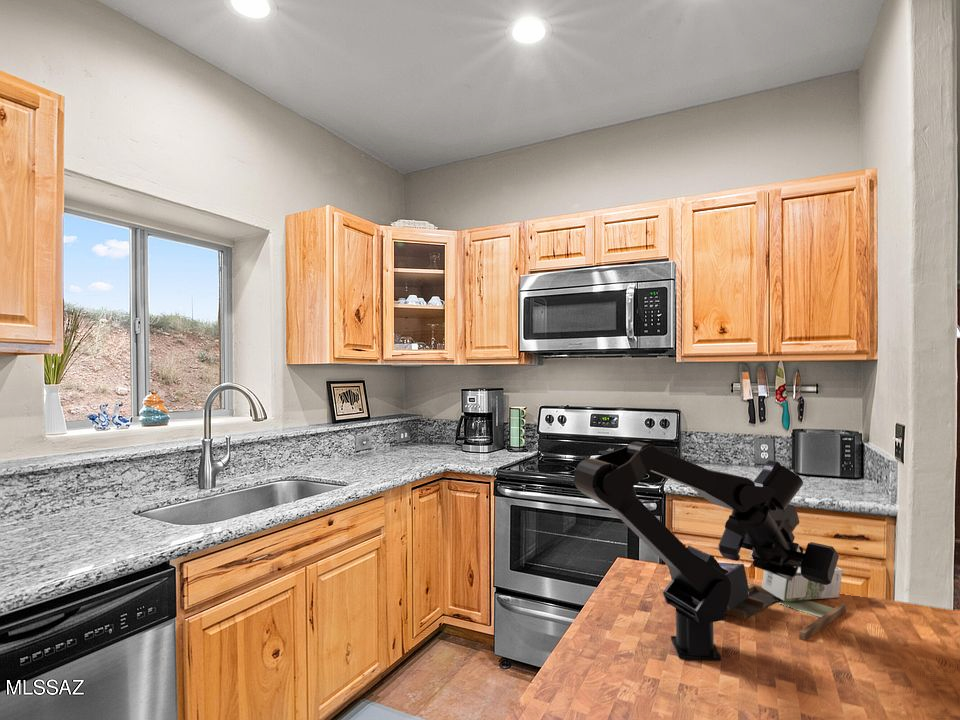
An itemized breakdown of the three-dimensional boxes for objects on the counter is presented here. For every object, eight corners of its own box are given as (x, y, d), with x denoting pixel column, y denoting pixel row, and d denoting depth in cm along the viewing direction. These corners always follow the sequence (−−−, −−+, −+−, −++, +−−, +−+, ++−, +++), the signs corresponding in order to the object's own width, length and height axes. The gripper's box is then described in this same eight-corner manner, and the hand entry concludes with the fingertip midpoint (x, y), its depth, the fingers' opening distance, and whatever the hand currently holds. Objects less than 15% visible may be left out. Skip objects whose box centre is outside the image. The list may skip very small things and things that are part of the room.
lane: (804, 640, 91) (804, 633, 92) (714, 608, 104) (714, 602, 104) (846, 611, 102) (846, 604, 102) (760, 585, 115) (759, 579, 115)
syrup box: (760, 587, 110) (814, 583, 114) (785, 602, 104) (840, 597, 109) (763, 560, 109) (817, 557, 114) (788, 573, 104) (844, 569, 108)
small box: (693, 558, 114) (745, 562, 106) (699, 591, 113) (751, 597, 105) (669, 570, 106) (723, 575, 99) (675, 605, 105) (729, 613, 98)
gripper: (832, 499, 91) (859, 552, 97) (724, 482, 105) (754, 529, 112) (813, 557, 86) (843, 609, 92) (703, 531, 100) (735, 577, 107)
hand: (790, 577), depth 101 cm, fingers closed
